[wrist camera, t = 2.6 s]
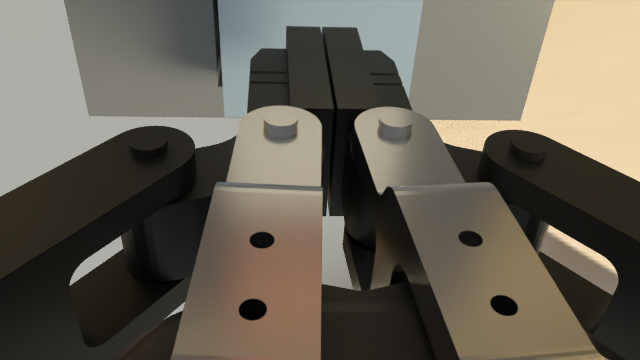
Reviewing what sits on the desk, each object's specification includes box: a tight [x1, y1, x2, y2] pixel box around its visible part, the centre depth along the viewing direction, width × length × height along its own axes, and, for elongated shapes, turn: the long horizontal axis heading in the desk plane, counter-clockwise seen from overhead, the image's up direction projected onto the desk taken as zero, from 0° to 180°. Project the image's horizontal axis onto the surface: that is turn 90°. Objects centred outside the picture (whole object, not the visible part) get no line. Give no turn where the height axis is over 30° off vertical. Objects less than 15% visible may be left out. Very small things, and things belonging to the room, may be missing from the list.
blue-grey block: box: [218, 0, 423, 117], centre depth 16 cm, size 5×5×4 cm
